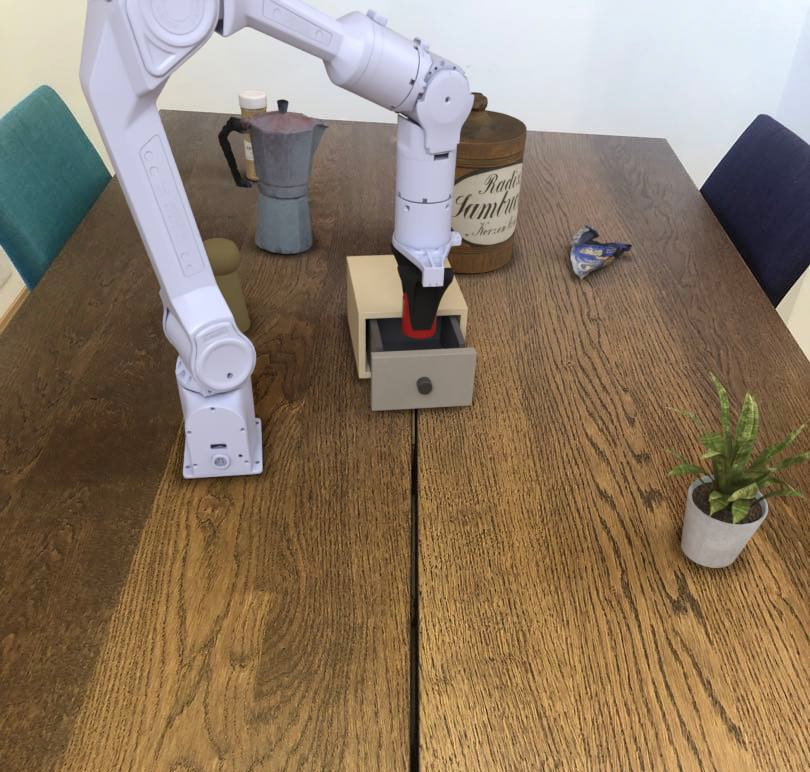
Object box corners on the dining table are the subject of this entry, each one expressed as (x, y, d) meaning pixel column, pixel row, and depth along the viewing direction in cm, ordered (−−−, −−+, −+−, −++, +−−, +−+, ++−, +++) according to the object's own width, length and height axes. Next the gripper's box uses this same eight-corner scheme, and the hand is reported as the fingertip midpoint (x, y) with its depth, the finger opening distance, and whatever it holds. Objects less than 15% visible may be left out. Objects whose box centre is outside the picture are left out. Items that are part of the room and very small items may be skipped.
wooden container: (459, 284, 116) (473, 117, 101) (394, 247, 124) (398, 88, 109) (532, 257, 123) (555, 98, 108) (466, 225, 132) (478, 72, 116)
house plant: (595, 510, 82) (631, 368, 70) (710, 482, 85) (762, 343, 74) (677, 611, 72) (734, 466, 61) (803, 575, 76) (879, 431, 65)
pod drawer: (473, 411, 92) (479, 358, 87) (373, 417, 90) (373, 363, 86) (449, 344, 102) (453, 294, 98) (359, 348, 101) (359, 297, 96)
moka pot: (340, 250, 123) (337, 106, 109) (239, 264, 119) (223, 115, 105) (321, 225, 129) (316, 86, 116) (225, 238, 125) (207, 94, 111)
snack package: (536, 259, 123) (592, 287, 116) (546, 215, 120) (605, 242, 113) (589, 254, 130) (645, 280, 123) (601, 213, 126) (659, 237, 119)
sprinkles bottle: (251, 183, 141) (243, 98, 132) (242, 174, 144) (234, 90, 135) (276, 179, 143) (270, 95, 134) (267, 170, 146) (260, 87, 137)
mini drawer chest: (462, 373, 99) (468, 308, 93) (359, 378, 98) (358, 312, 92) (441, 314, 110) (445, 252, 104) (347, 318, 108) (346, 256, 102)
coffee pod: (438, 338, 90) (440, 304, 87) (404, 339, 89) (405, 305, 86) (432, 321, 92) (434, 287, 90) (399, 322, 92) (400, 289, 89)
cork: (241, 339, 103) (231, 255, 96) (196, 333, 104) (182, 249, 97) (257, 316, 108) (248, 235, 100) (213, 311, 108) (202, 229, 101)
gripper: (479, 221, 76) (467, 350, 85) (450, 165, 86) (442, 286, 95) (404, 223, 75) (400, 354, 84) (384, 166, 85) (382, 288, 95)
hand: (418, 318), depth 90 cm, fingers closed on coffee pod, 4 cm apart
